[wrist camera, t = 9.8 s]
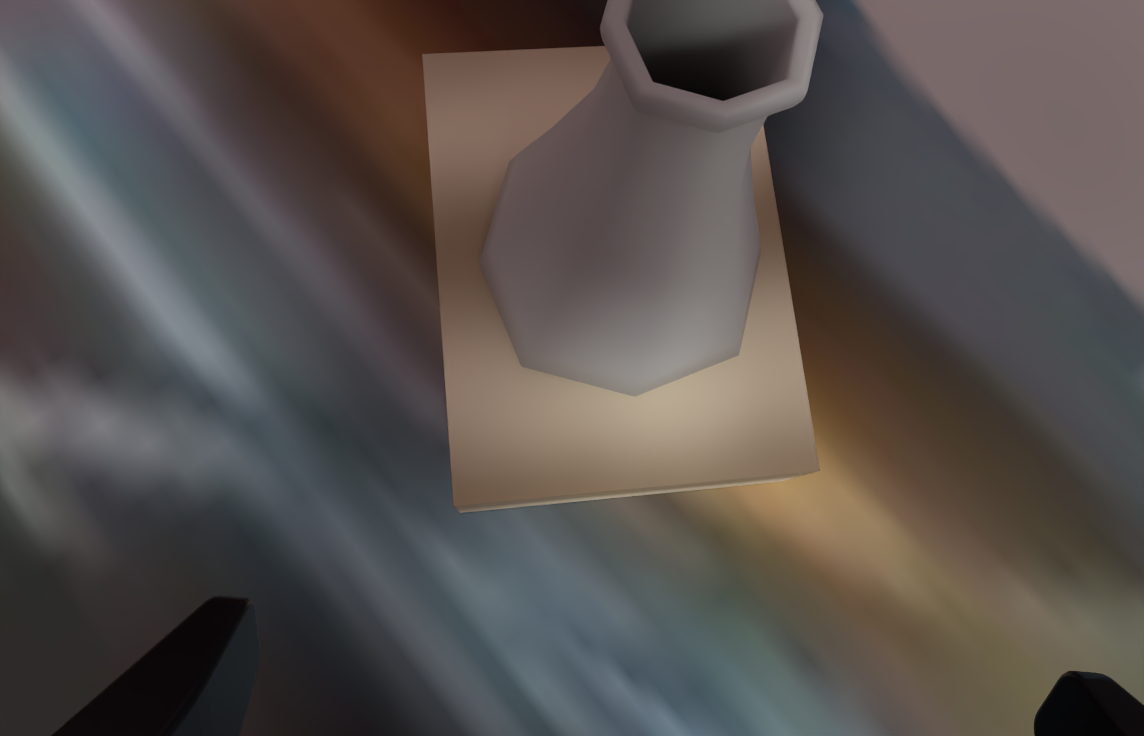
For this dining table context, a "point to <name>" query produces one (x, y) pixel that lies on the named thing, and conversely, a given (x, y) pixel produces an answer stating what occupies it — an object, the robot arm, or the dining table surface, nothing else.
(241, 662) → the robot arm
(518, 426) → the foundation block
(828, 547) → the dining table surface
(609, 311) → the flask
